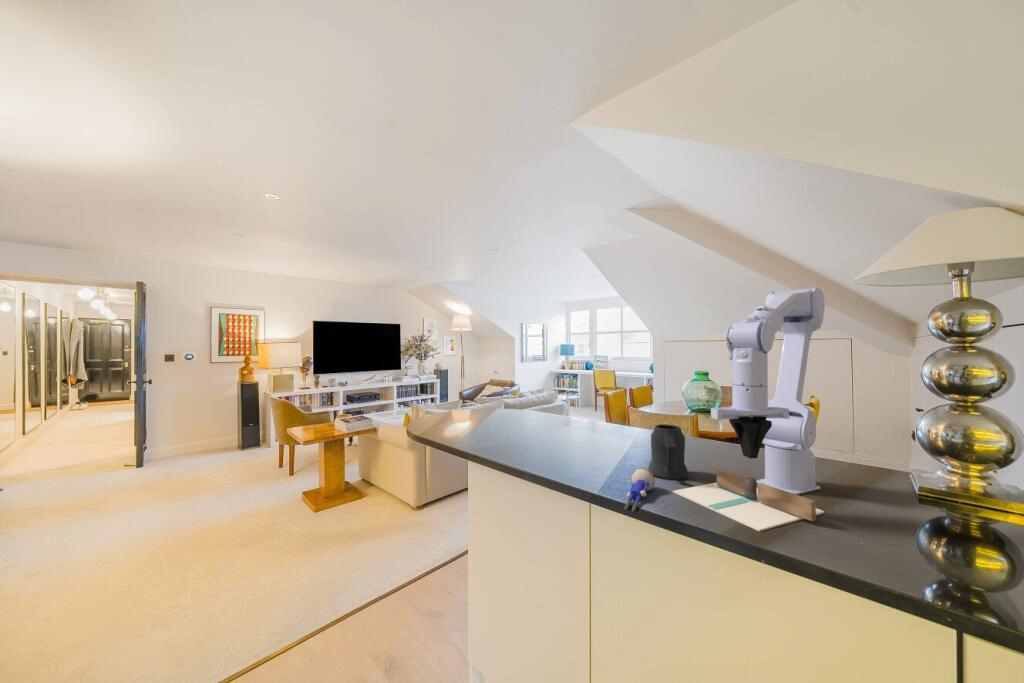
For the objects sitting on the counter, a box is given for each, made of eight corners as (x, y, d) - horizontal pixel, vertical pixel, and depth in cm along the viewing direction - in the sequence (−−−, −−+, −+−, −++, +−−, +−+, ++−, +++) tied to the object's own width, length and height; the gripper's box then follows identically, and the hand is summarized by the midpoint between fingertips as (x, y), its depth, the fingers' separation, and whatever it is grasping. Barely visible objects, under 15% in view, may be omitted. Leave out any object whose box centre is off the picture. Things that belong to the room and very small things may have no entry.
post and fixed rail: (722, 487, 81) (721, 467, 81) (759, 501, 74) (758, 479, 74) (715, 488, 80) (715, 468, 80) (752, 503, 73) (752, 481, 73)
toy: (645, 521, 68) (660, 483, 80) (635, 496, 68) (651, 463, 81) (621, 523, 70) (639, 486, 83) (611, 499, 70) (631, 466, 83)
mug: (646, 466, 95) (646, 421, 95) (685, 469, 93) (685, 424, 93) (649, 482, 84) (649, 432, 84) (694, 487, 81) (694, 435, 81)
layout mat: (732, 480, 85) (732, 478, 85) (824, 512, 69) (824, 510, 69) (672, 492, 78) (672, 490, 78) (759, 531, 62) (759, 529, 62)
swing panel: (757, 500, 72) (757, 483, 72) (761, 499, 73) (761, 483, 73) (811, 521, 64) (811, 502, 64) (815, 519, 64) (815, 501, 64)
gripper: (768, 382, 76) (768, 450, 76) (701, 383, 75) (701, 451, 74) (798, 386, 69) (798, 460, 69) (724, 387, 68) (725, 462, 67)
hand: (750, 456), depth 71 cm, fingers closed
